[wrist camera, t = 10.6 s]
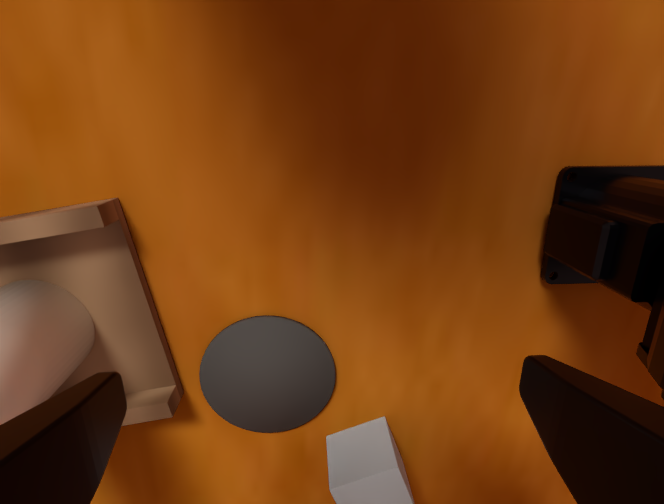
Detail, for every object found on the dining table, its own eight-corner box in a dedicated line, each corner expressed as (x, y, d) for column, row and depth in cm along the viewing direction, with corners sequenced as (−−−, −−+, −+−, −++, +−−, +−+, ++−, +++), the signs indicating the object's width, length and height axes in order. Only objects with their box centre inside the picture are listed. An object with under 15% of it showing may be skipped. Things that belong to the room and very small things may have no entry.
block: (384, 415, 25) (398, 466, 22) (402, 460, 27) (418, 516, 23) (326, 435, 26) (329, 489, 22) (346, 478, 27) (353, 537, 23)
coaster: (334, 313, 23) (335, 316, 22) (334, 426, 25) (335, 429, 25) (193, 317, 22) (192, 320, 22) (207, 431, 25) (206, 435, 25)
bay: (117, 197, 20) (96, 206, 18) (183, 392, 24) (172, 417, 22) (-118, 237, 20) (-165, 250, 18) (-14, 426, 24) (-43, 454, 22)
